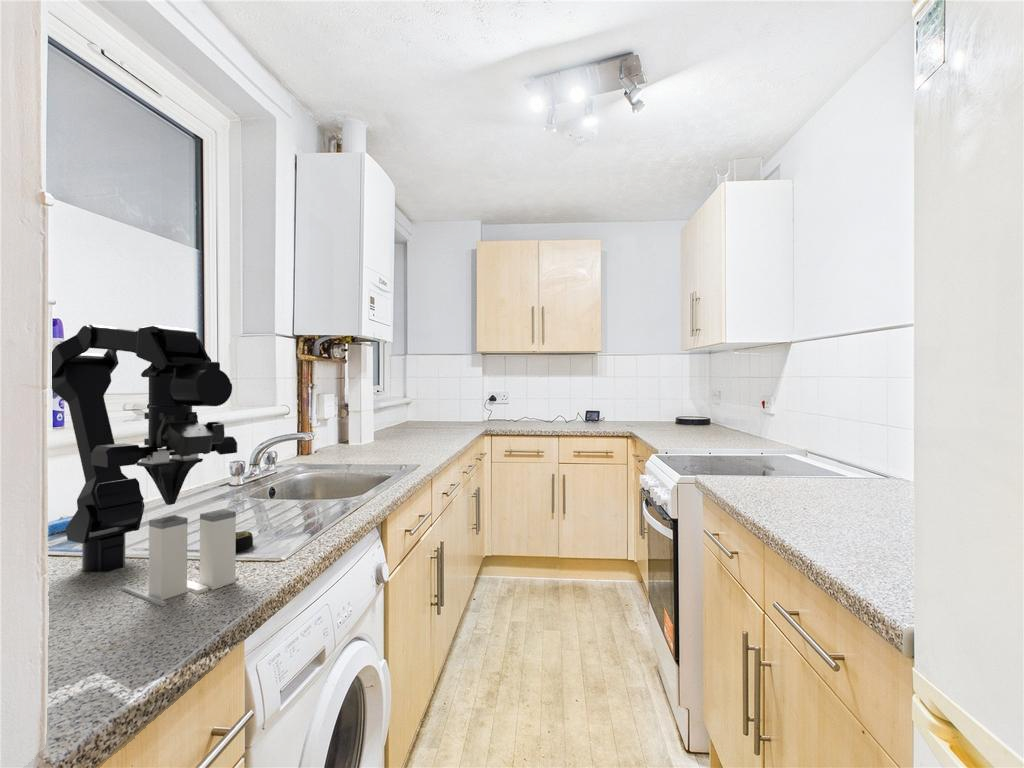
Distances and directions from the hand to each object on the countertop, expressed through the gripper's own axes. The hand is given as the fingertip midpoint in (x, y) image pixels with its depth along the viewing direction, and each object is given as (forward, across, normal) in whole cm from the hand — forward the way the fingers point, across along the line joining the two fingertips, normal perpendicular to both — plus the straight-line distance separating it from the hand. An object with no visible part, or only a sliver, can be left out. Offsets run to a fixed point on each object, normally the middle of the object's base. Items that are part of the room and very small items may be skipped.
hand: (170, 504), depth 78 cm
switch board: (+13, 0, -3) cm, 13 cm away
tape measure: (+13, +14, +7) cm, 21 cm away
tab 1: (+12, -3, -5) cm, 13 cm away
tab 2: (+12, +3, -8) cm, 15 cm away
